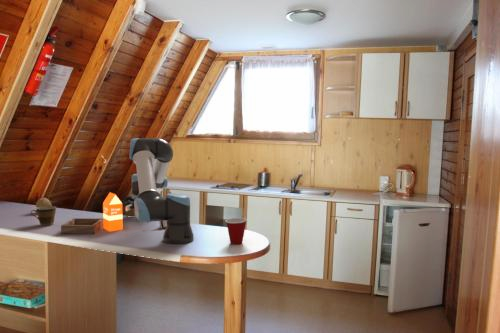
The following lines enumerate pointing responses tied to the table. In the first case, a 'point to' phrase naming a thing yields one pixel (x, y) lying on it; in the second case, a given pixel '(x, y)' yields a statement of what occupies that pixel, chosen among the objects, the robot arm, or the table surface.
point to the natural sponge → (43, 202)
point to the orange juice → (112, 213)
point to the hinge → (163, 224)
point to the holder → (82, 226)
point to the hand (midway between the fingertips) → (114, 208)
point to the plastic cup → (236, 230)
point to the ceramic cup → (45, 215)
